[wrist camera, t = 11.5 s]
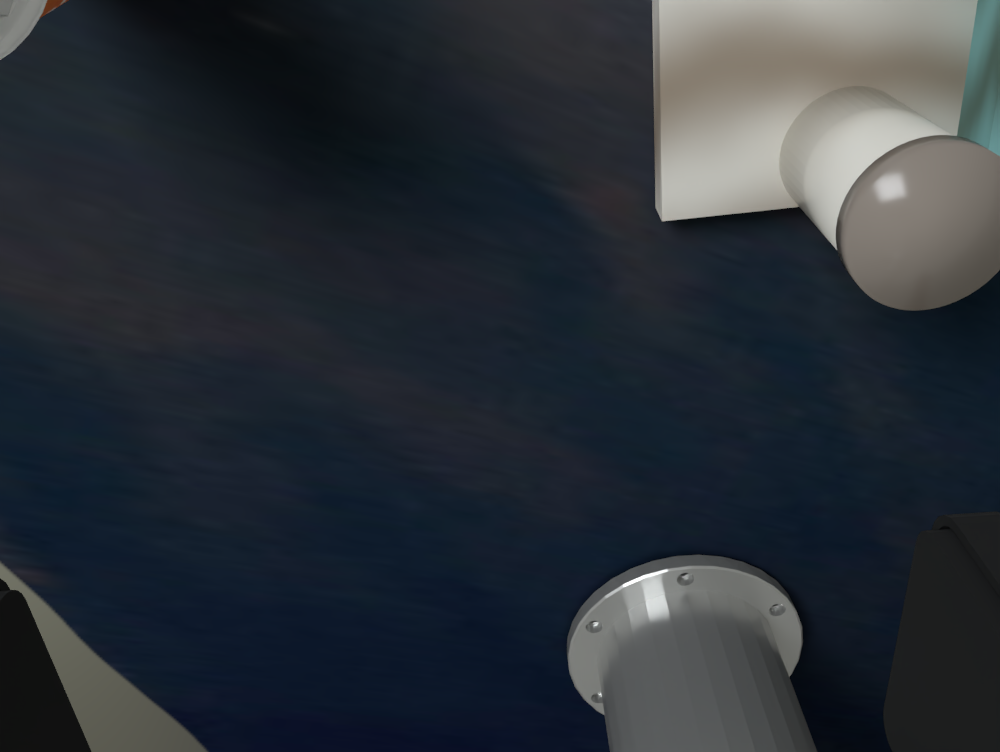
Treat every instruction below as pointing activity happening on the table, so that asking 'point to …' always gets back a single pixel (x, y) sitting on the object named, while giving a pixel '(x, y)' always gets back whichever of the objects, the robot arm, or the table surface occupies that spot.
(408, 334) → the table surface
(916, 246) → the cream jar
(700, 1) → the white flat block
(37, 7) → the paper cup
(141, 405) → the table surface
